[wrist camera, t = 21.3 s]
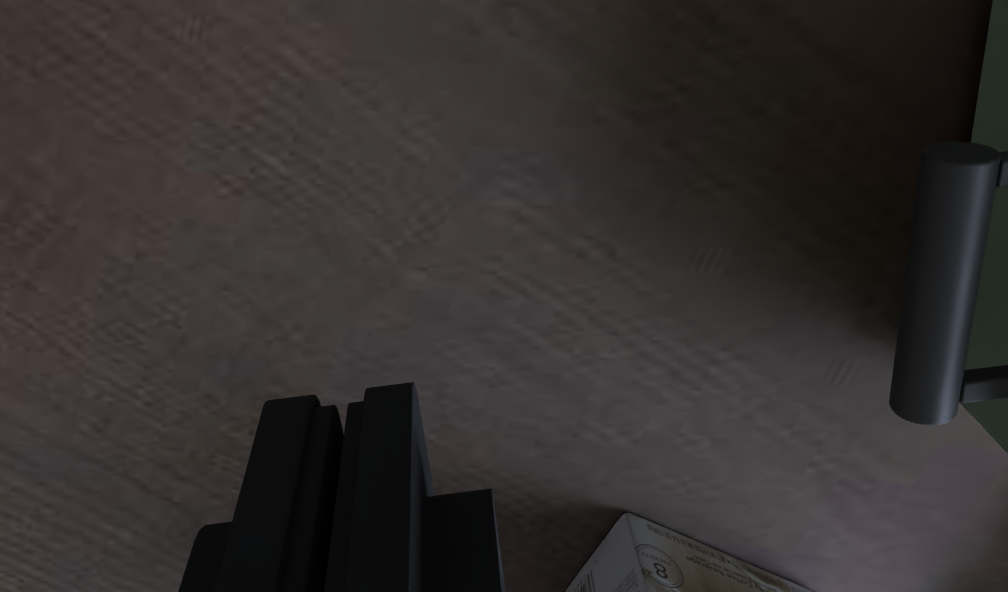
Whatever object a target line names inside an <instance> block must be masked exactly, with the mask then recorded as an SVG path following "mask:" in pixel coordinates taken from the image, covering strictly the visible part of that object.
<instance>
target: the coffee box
mask: <svg viewBox="0 0 1008 592" xmlns="http://www.w3.org/2000/svg"><path fill="white" fill-rule="evenodd" d="M565 592H814V591H811V590H809V589H807V588H804V587H802V586H800V585H797V584H795V583H793V582H790V581H788V580H785V579H783V578H781V577H779V576H776V575H774V574H772V573H769V572H767V571H764V570H762V569H759V568H757V567H755V566H753V565H750V564H748V563H746V562H743V561H741V560H739V559H737V558H734V557H732V556H730V555H727V554H725V553H723V552H720V551H718V550H716V549H713V548H711V547H709V546H706V545H704V544H702V543H699V542H697V541H695V540H692V539H690V538H688V537H685V536H683V535H680V534H678V533H676V532H674V531H672V530H669V529H667V528H665V527H662V526H660V525H657V524H655V523H653V522H650V521H648V520H646V519H643V518H641V517H638V516H636V515H633V514H630V513H625V514H623V515H622V516H621V517H620V519H619V520H618V521H617V522H616V523H615V525H614V526H613V528H612V529H611V530H610V532H609V533H608V534H607V536H606V537H605V538H604V540H603V541H602V542H601V544H600V545H599V546H598V548H597V549H596V550H595V552H594V553H593V554H592V556H591V557H590V558H589V560H588V561H587V562H586V564H585V565H584V566H583V568H582V569H581V570H580V572H579V573H578V574H577V576H576V577H575V578H574V580H573V581H572V582H571V584H570V585H569V587H568V588H567V589H566V591H565Z"/></svg>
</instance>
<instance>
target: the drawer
mask: <svg viewBox="0 0 1008 592" xmlns="http://www.w3.org/2000/svg"><path fill="white" fill-rule="evenodd" d="M959 402H960V403H961V404H962V406H963V407H964V408H965V409H966V410H967V411H968V412H969V413H970V414H971V415H972V416H973V417H974V418H975V419H976V420H977V421H978V422H979V424H980V425H981V426H982V427H983V428H984V429H985V430H986V431H987V432H988V433H989V434H990V435H991V436H992V437H993V438H994V439H995V441H996V442H997V443H998V444H999V445H1000V446H1001V447H1002V448H1003V449H1004V450H1005V451H1006V452H1007V453H1008V0H993V2H992V8H991V15H990V21H989V28H988V34H987V41H986V47H985V54H984V60H983V67H982V73H981V80H980V86H979V92H978V99H977V105H976V112H975V118H974V125H973V131H972V138H971V142H942V143H936V144H932V145H929V146H927V147H925V148H924V149H923V151H922V152H921V159H920V167H919V174H918V182H917V190H916V198H915V205H914V213H913V221H912V229H911V236H910V244H909V252H908V260H907V267H906V275H905V283H904V291H903V298H902V306H901V314H900V322H899V329H898V337H897V345H896V353H895V360H894V368H893V376H892V384H891V391H890V399H889V404H890V407H891V409H892V410H893V411H894V413H896V414H897V415H898V416H900V417H901V418H903V419H905V420H907V421H910V422H913V423H917V424H922V425H940V424H944V423H947V422H949V421H951V420H952V419H953V418H954V417H955V416H956V414H957V409H958V403H959Z"/></svg>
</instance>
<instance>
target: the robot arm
mask: <svg viewBox="0 0 1008 592" xmlns="http://www.w3.org/2000/svg"><path fill="white" fill-rule="evenodd" d="M179 592H505V586H504V578H503V569H502V561H501V553H500V545H499V537H498V529H497V522H496V514H495V507H494V499H493V493H492V489H485V490H477V491H469V492H461V493H453V494H446V495H438V496H435V494H434V488H433V482H432V477H431V471H430V465H429V459H428V454H427V448H426V442H425V436H424V431H423V425H422V419H421V413H420V408H419V402H418V396H417V391H416V387H415V384H414V382H412V383H404V384H396V385H388V386H380V387H371V388H367V389H366V390H365V396H364V401H361V402H353V403H349V404H348V408H347V416H346V424H345V432H344V434H343V429H342V425H341V420H340V416H339V412H338V409H337V407H336V406H335V405H329V406H321V405H320V402H319V399H318V397H317V396H316V395H307V396H299V397H291V398H283V399H275V400H268V401H266V402H265V404H264V406H263V409H262V413H261V416H260V420H259V424H258V428H257V431H256V435H255V439H254V442H253V446H252V450H251V454H250V457H249V461H248V465H247V469H246V472H245V476H244V480H243V483H242V487H241V491H240V495H239V498H238V502H237V506H236V509H235V513H234V517H233V521H232V522H226V523H218V524H210V525H205V526H204V527H202V528H201V529H200V530H199V532H198V534H197V537H196V539H195V541H194V544H193V547H192V550H191V554H190V557H189V560H188V563H187V566H186V570H185V573H184V576H183V579H182V582H181V586H180V589H179Z"/></svg>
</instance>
